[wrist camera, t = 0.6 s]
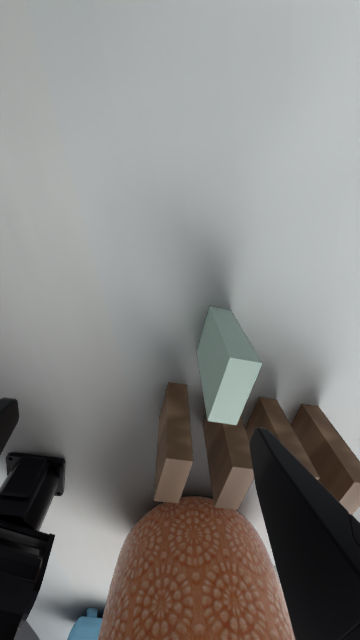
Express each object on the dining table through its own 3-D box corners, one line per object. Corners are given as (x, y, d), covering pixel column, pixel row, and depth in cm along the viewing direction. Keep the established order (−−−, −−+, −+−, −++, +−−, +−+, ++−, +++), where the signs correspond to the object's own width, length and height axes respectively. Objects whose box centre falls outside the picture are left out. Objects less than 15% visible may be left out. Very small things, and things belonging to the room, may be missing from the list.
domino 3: (232, 392, 26) (258, 469, 18) (219, 426, 28) (237, 509, 20) (214, 389, 26) (232, 466, 18) (202, 424, 28) (214, 507, 20)
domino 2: (231, 310, 22) (262, 363, 14) (215, 356, 24) (236, 425, 16) (209, 305, 22) (230, 357, 14) (196, 352, 24) (207, 421, 16)
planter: (236, 562, 40) (285, 827, 23) (110, 552, 38) (57, 838, 21) (284, 483, 32) (415, 798, 15) (127, 464, 30) (65, 810, 13)
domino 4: (276, 399, 27) (319, 477, 19) (260, 432, 28) (293, 515, 21) (259, 397, 26) (295, 474, 19) (244, 430, 28) (271, 513, 20)
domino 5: (318, 406, 27) (377, 485, 19) (300, 438, 29) (346, 521, 21) (302, 403, 27) (354, 482, 19) (284, 436, 29) (325, 519, 21)
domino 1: (186, 385, 25) (193, 461, 18) (176, 420, 27) (178, 503, 20) (168, 382, 25) (165, 458, 17) (159, 418, 27) (153, 500, 19)
